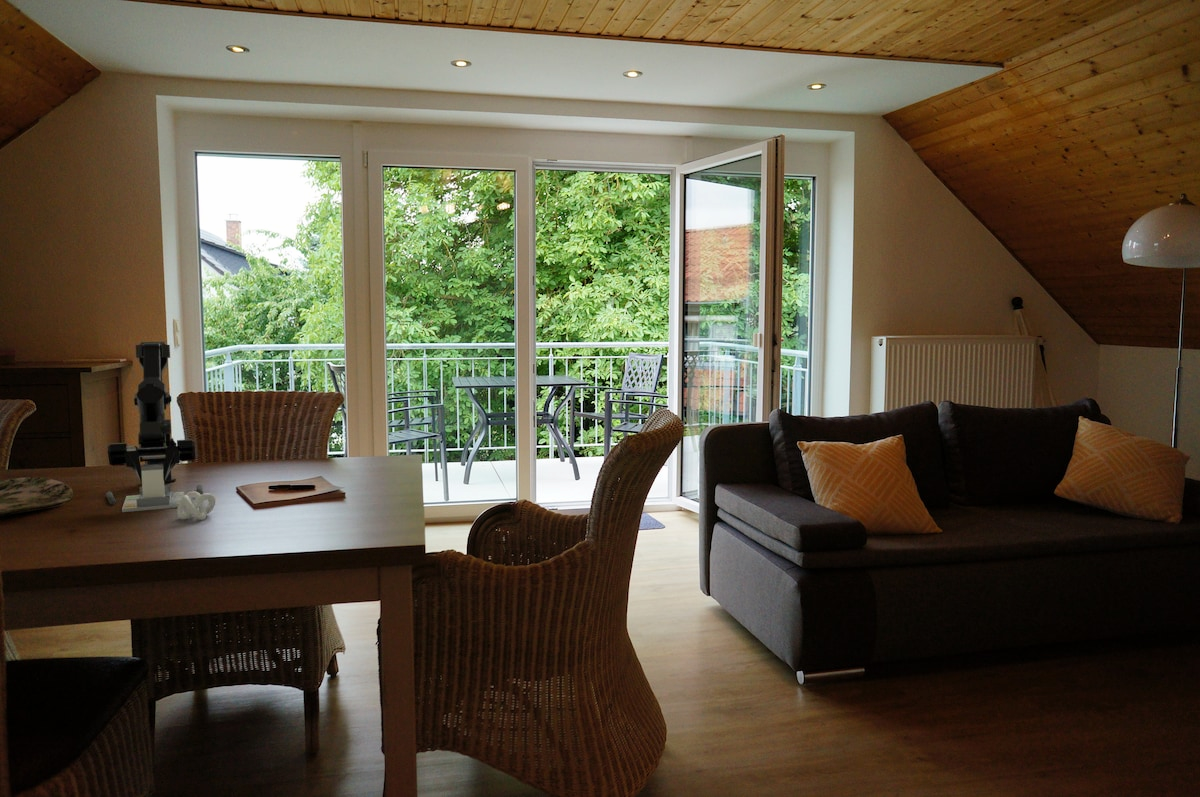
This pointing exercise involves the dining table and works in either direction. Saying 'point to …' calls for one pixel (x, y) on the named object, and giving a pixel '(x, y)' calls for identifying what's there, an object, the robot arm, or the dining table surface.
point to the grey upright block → (152, 480)
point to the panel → (152, 501)
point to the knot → (195, 505)
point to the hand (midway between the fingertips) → (152, 480)
